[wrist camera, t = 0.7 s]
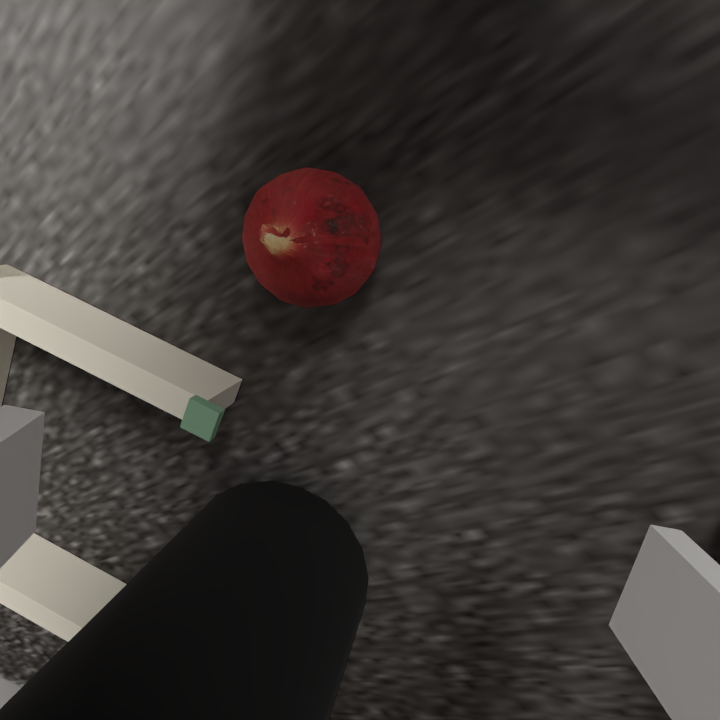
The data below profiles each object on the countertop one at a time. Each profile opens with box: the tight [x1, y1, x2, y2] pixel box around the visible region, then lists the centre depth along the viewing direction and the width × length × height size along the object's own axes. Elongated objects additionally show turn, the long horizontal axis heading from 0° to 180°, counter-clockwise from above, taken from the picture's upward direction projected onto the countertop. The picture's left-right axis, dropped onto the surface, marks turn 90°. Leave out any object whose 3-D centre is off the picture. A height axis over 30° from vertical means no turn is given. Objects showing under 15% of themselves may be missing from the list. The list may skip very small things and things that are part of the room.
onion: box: [242, 167, 382, 308], centre depth 22 cm, size 6×6×8 cm
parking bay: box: [0, 265, 242, 642], centre depth 30 cm, size 18×16×5 cm
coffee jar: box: [0, 481, 368, 720], centre depth 22 cm, size 11×11×18 cm
